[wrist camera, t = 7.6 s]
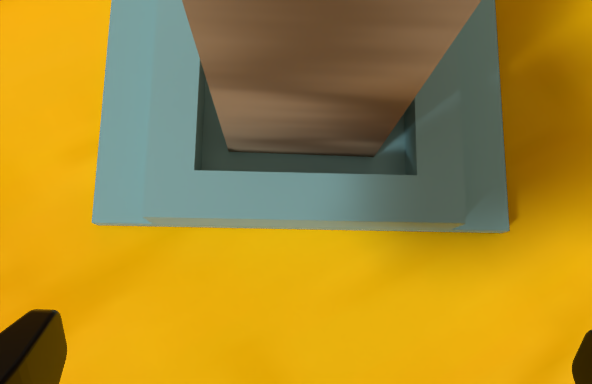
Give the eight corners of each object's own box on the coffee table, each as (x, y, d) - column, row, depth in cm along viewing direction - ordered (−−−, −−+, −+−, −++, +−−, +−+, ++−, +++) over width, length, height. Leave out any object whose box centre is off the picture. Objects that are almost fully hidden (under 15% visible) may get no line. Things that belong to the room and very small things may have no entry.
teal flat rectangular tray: (486, -25, 21) (509, -60, 19) (502, 232, 19) (529, 224, 17) (120, -38, 21) (103, -76, 18) (97, 225, 19) (75, 215, 17)
